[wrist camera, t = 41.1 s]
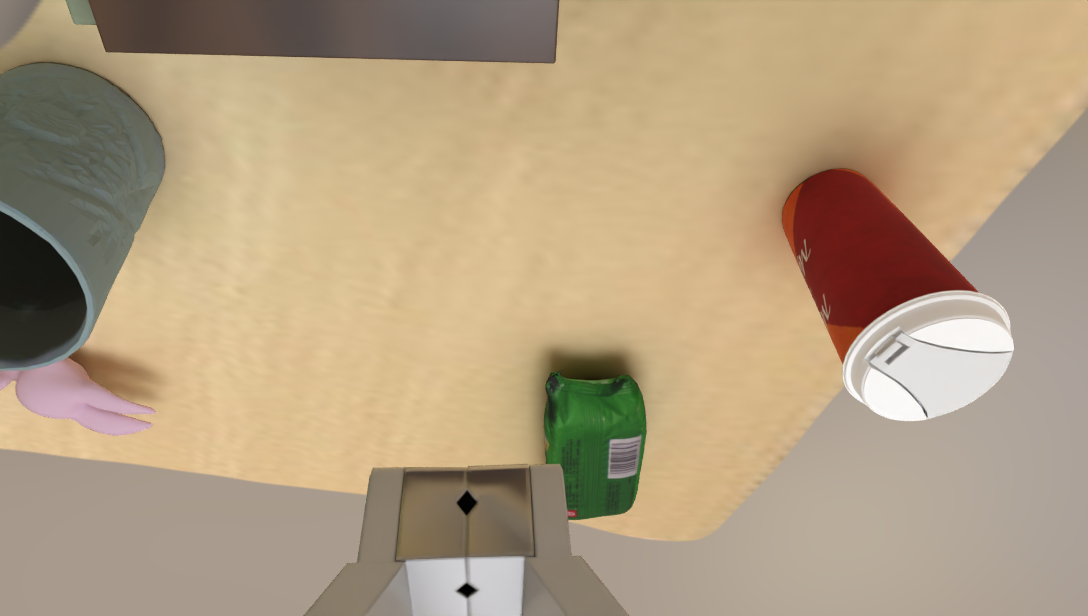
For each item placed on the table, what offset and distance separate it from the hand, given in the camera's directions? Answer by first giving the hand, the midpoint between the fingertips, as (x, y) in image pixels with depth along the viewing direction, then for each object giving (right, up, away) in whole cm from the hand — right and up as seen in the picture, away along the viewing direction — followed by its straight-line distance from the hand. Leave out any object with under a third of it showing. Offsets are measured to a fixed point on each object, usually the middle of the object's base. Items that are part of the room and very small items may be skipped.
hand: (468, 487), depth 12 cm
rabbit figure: (-32, 0, +36) cm, 48 cm away
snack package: (+5, -5, +44) cm, 44 cm away
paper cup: (+18, +9, +32) cm, 38 cm away
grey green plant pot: (-23, +12, +27) cm, 37 cm away
